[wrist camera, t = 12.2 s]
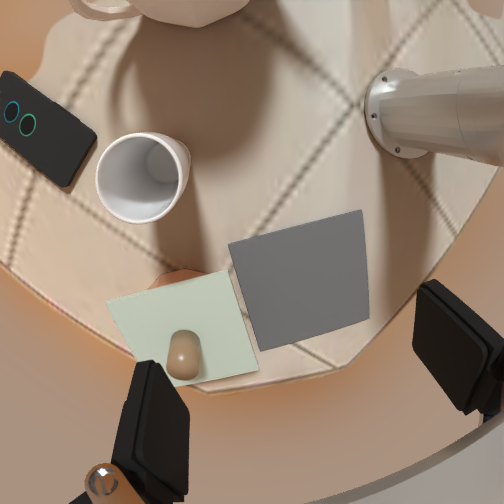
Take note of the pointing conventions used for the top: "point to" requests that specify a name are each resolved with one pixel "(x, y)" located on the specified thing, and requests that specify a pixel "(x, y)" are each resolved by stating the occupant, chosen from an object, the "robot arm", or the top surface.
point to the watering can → (164, 10)
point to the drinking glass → (142, 176)
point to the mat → (304, 279)
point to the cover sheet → (187, 329)
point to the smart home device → (42, 130)
